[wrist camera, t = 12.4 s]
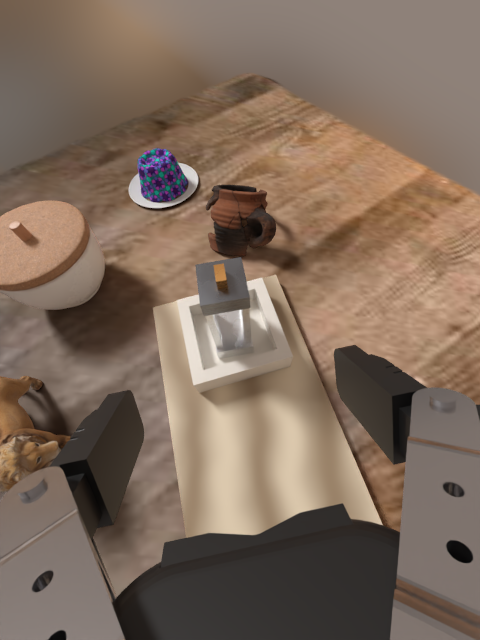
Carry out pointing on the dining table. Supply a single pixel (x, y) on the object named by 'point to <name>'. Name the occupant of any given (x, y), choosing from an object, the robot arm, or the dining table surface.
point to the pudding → (161, 180)
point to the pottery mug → (239, 219)
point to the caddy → (221, 372)
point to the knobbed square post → (226, 305)
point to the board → (256, 439)
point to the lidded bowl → (49, 256)
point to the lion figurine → (22, 435)
